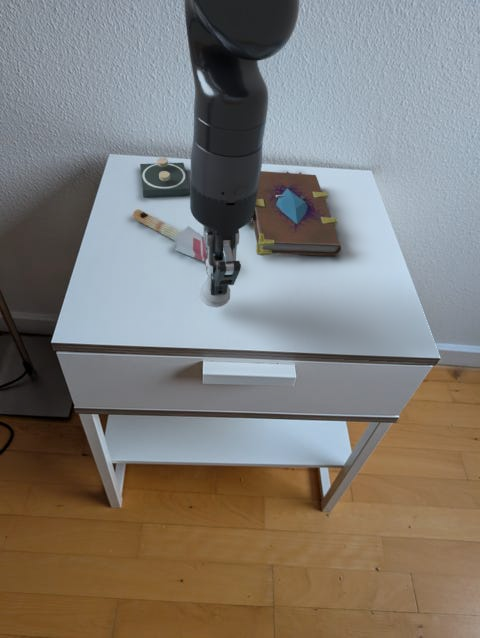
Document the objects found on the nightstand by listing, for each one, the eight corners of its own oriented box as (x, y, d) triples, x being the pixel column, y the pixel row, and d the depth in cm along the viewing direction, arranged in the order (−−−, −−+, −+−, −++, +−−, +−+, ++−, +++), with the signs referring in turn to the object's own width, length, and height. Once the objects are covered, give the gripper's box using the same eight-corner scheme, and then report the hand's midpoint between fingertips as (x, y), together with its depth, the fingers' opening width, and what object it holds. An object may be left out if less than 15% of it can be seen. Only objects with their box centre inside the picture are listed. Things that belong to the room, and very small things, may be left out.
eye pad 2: (159, 181, 78) (159, 177, 77) (158, 174, 79) (158, 171, 79) (170, 181, 78) (170, 177, 78) (169, 174, 80) (169, 170, 79)
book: (310, 177, 89) (317, 155, 85) (338, 262, 74) (348, 240, 70) (232, 171, 86) (236, 149, 82) (246, 259, 71) (251, 236, 67)
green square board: (143, 197, 79) (142, 189, 78) (140, 170, 84) (140, 163, 82) (188, 195, 80) (188, 187, 79) (183, 169, 85) (183, 161, 84)
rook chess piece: (212, 281, 65) (215, 241, 58) (236, 295, 63) (241, 256, 57) (193, 298, 62) (194, 258, 56) (217, 314, 61) (221, 275, 54)
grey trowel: (221, 264, 66) (127, 212, 73) (221, 276, 68) (130, 225, 75) (236, 250, 68) (143, 201, 75) (235, 263, 70) (145, 214, 77)
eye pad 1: (157, 167, 81) (157, 163, 80) (156, 161, 82) (156, 157, 81) (168, 167, 81) (168, 163, 80) (167, 160, 82) (167, 157, 82)
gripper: (183, 141, 50) (183, 250, 64) (199, 220, 42) (196, 325, 55) (245, 141, 51) (233, 247, 65) (273, 217, 43) (252, 320, 57)
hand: (216, 282), depth 60 cm, fingers closed on rook chess piece, 3 cm apart
